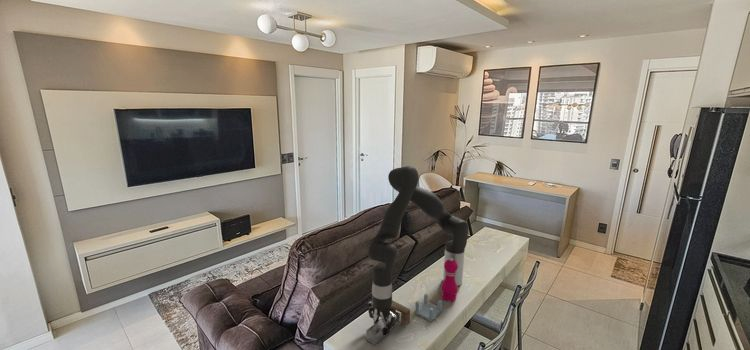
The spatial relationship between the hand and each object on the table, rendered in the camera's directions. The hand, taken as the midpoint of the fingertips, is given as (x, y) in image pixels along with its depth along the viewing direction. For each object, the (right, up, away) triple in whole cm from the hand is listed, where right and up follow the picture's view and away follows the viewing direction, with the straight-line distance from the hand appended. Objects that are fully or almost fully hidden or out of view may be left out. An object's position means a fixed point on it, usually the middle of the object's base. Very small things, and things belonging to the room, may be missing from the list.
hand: (381, 331), depth 121 cm
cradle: (+20, +2, +12) cm, 24 cm away
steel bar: (+1, 0, +1) cm, 1 cm away
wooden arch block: (+7, +1, +8) cm, 11 cm away
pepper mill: (+31, +4, +22) cm, 39 cm away
